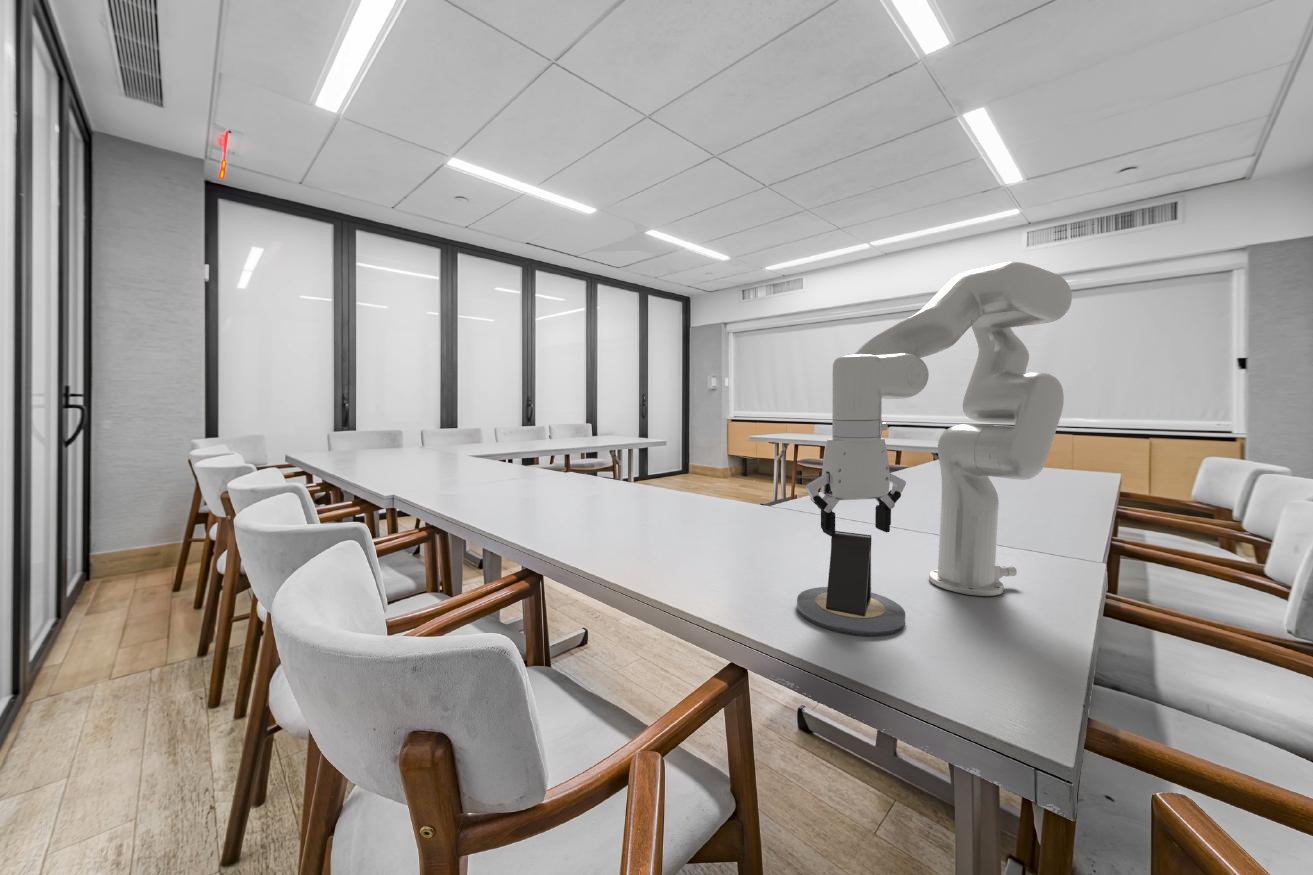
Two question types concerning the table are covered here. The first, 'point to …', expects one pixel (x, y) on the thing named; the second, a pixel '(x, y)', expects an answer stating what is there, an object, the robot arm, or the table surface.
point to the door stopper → (849, 573)
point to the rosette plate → (852, 615)
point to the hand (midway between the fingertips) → (855, 532)
